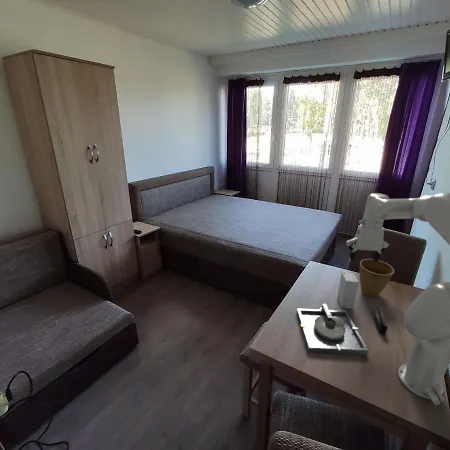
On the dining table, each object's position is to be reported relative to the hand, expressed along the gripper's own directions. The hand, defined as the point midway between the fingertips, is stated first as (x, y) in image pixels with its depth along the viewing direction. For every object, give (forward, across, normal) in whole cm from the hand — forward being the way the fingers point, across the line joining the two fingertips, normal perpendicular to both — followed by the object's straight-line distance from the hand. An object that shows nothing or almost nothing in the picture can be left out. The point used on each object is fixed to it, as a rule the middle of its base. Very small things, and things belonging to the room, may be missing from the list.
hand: (363, 259), depth 116 cm
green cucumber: (+26, +8, -9) cm, 29 cm away
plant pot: (+26, +14, +13) cm, 32 cm away
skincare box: (+26, -2, +3) cm, 26 cm away
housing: (+26, -16, -17) cm, 35 cm away
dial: (+24, -16, -15) cm, 33 cm away
